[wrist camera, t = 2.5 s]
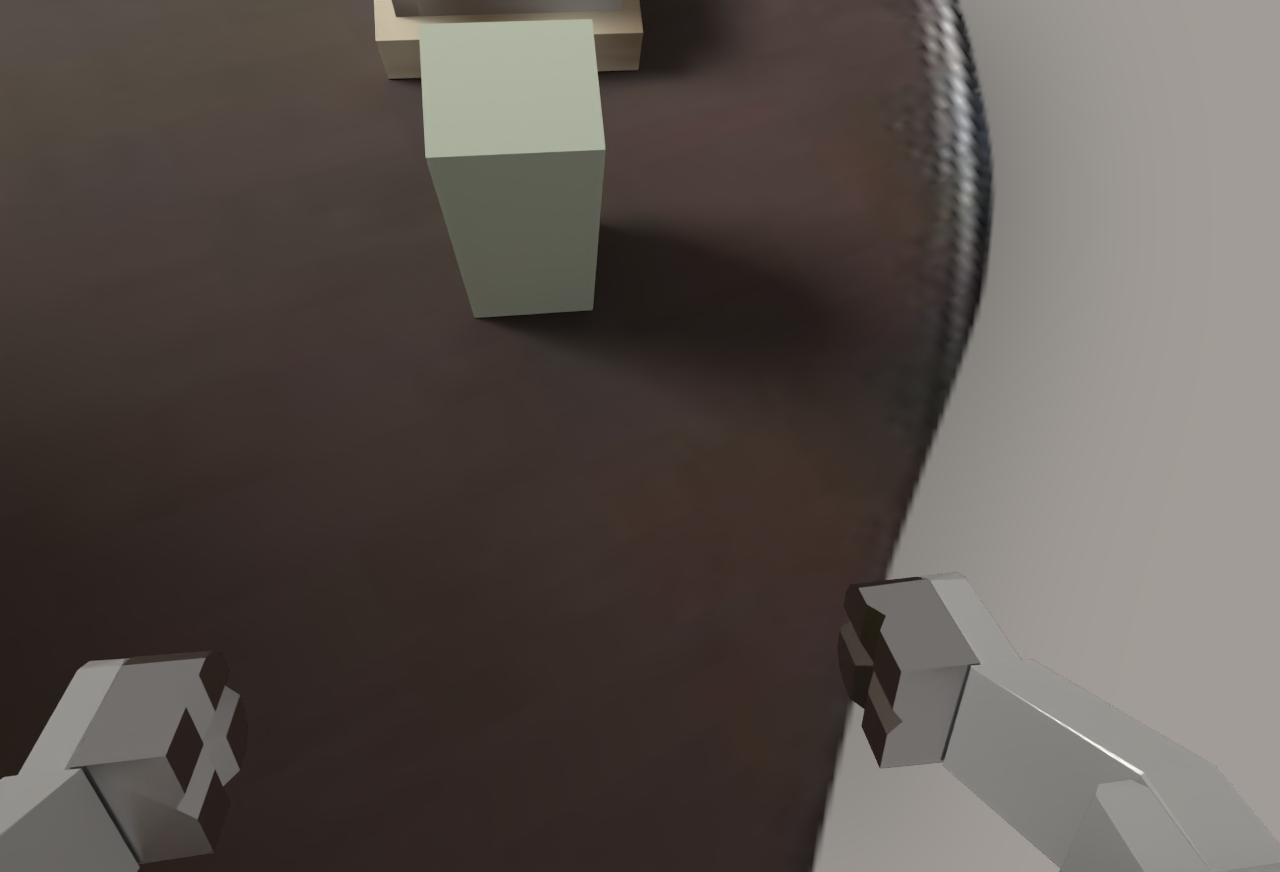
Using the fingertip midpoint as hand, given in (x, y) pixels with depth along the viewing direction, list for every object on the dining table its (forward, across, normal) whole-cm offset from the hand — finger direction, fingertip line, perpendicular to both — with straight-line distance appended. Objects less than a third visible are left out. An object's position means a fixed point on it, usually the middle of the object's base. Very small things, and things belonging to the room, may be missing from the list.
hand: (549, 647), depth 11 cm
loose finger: (+20, 0, +2) cm, 20 cm away
